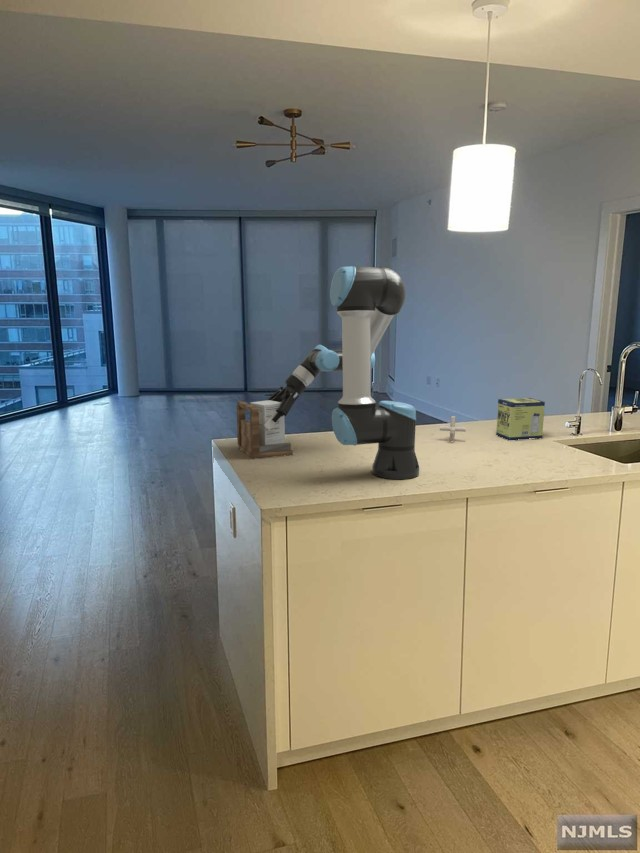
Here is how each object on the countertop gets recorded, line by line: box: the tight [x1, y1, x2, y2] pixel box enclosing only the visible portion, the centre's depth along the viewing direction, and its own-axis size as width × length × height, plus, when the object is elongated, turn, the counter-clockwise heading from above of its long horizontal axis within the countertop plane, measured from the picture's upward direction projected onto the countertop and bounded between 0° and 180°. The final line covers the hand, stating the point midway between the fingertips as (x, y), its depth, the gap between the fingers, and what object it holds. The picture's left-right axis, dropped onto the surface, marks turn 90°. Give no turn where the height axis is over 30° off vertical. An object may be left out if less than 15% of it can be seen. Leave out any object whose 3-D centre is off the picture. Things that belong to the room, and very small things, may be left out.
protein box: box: [495, 397, 546, 441], centre depth 246 cm, size 10×16×16 cm
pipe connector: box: [439, 416, 467, 442], centre depth 239 cm, size 10×10×10 cm
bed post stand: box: [236, 400, 294, 460], centre depth 220 cm, size 18×15×18 cm
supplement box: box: [249, 399, 286, 446], centre depth 220 cm, size 10×9×17 cm
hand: (260, 424), depth 219 cm, fingers open, 12 cm apart
